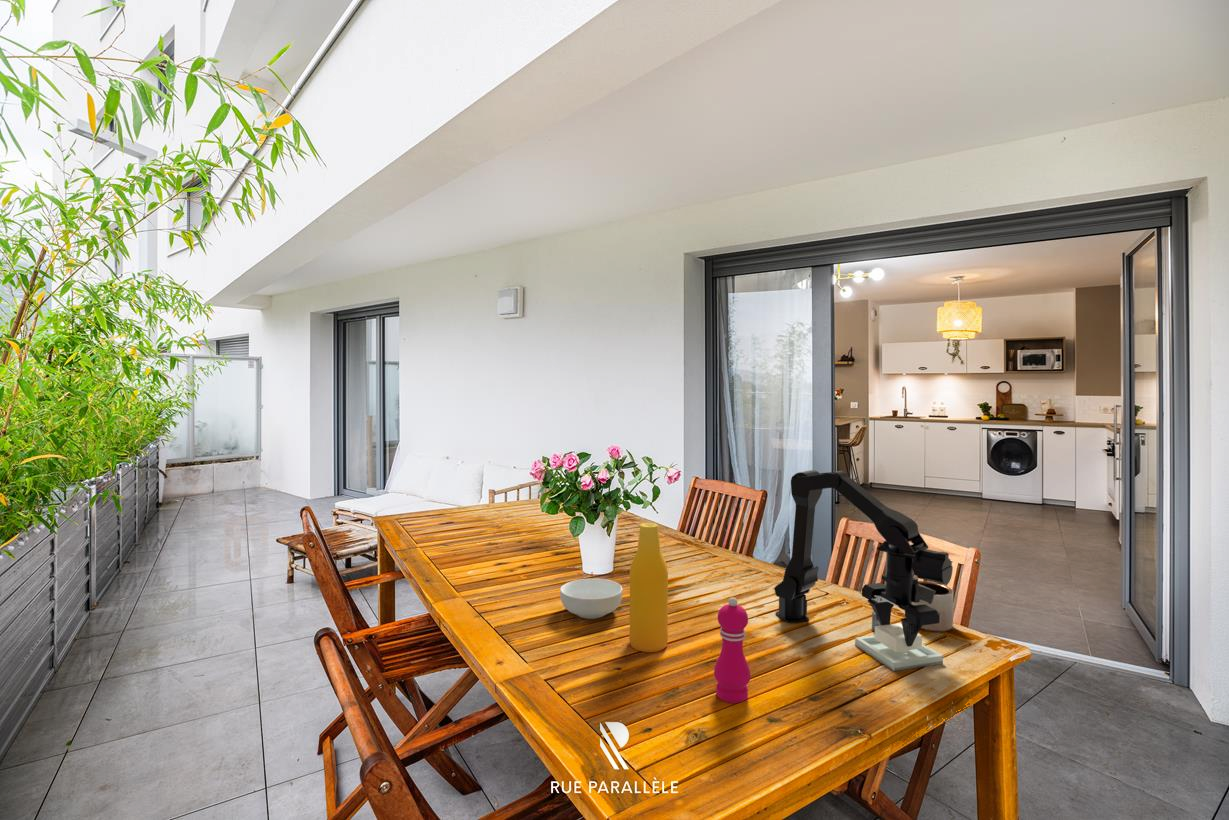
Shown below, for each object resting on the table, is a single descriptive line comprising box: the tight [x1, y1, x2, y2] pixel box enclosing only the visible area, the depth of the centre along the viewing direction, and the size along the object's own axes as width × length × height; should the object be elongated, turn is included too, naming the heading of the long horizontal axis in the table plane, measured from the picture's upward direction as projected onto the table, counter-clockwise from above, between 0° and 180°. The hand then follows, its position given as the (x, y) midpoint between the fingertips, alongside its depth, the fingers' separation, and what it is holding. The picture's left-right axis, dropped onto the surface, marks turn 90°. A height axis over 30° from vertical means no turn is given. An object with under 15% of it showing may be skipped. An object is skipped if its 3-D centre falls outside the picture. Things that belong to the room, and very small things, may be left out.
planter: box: [912, 580, 954, 633], centre depth 153 cm, size 11×11×10 cm
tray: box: [854, 634, 944, 672], centre depth 137 cm, size 13×13×2 cm
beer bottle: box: [628, 522, 669, 653], centre depth 141 cm, size 9×9×29 cm
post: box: [871, 611, 881, 633], centre depth 149 cm, size 2×2×4 cm
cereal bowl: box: [559, 578, 624, 620], centre depth 161 cm, size 17×17×7 cm
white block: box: [874, 622, 923, 652], centre depth 137 cm, size 7×7×3 cm
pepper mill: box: [713, 596, 751, 704], centre depth 119 cm, size 7×7×20 cm
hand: (897, 639), depth 137 cm, fingers closed on white block, 7 cm apart
